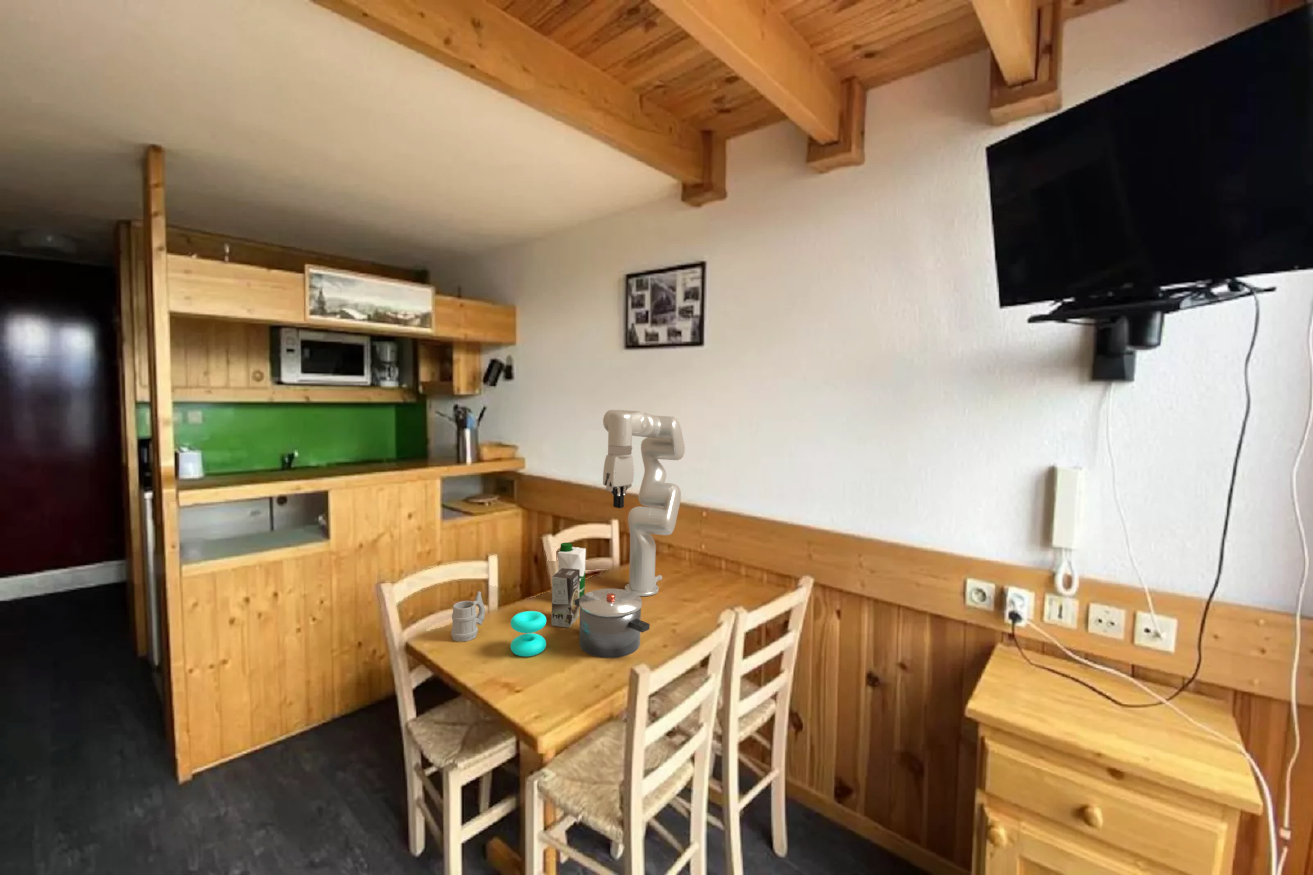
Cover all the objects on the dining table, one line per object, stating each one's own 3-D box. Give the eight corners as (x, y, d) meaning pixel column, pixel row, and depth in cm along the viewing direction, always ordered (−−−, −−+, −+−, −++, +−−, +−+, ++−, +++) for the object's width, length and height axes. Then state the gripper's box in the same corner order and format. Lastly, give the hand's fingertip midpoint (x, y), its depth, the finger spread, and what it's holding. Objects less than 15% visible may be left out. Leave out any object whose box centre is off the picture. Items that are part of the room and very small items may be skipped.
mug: (445, 638, 166) (444, 599, 165) (475, 623, 177) (474, 587, 176) (463, 644, 163) (463, 605, 162) (493, 629, 173) (493, 591, 172)
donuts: (529, 627, 153) (503, 618, 158) (529, 662, 154) (502, 652, 159) (553, 614, 162) (528, 606, 167) (553, 647, 163) (527, 638, 168)
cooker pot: (599, 619, 183) (600, 583, 182) (666, 647, 165) (667, 608, 164) (555, 638, 169) (555, 599, 167) (623, 671, 151) (624, 628, 150)
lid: (610, 587, 178) (610, 579, 178) (654, 603, 166) (654, 594, 166) (566, 604, 164) (566, 595, 164) (610, 623, 152) (611, 613, 152)
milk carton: (563, 593, 203) (564, 540, 201) (587, 596, 202) (588, 542, 200) (554, 603, 195) (555, 547, 193) (579, 605, 193) (580, 549, 191)
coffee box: (570, 628, 176) (570, 578, 174) (550, 625, 177) (551, 576, 175) (579, 616, 185) (580, 569, 183) (561, 614, 186) (561, 567, 184)
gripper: (627, 447, 187) (625, 502, 189) (594, 451, 175) (593, 509, 177) (644, 450, 182) (642, 505, 184) (611, 454, 171) (610, 513, 172)
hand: (618, 507), depth 180 cm, fingers closed
